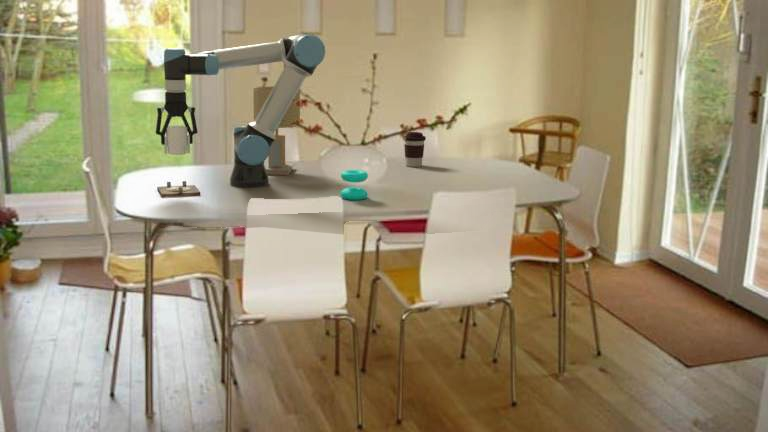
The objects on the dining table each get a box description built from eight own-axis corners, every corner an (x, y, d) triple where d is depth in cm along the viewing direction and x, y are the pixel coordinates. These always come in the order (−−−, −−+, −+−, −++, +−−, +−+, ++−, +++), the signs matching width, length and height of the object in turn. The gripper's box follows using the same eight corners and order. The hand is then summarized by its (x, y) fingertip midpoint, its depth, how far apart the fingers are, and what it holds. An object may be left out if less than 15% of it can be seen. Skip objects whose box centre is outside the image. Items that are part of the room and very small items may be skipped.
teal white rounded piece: (345, 168, 340) (371, 170, 338) (345, 194, 343) (370, 196, 340) (337, 172, 331) (363, 174, 328) (337, 199, 333) (362, 201, 331)
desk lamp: (297, 176, 376) (297, 91, 368) (250, 175, 376) (249, 90, 368) (302, 168, 395) (302, 87, 387) (257, 167, 395) (257, 86, 387)
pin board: (194, 188, 347) (194, 179, 347) (200, 195, 335) (200, 186, 334) (157, 189, 343) (157, 181, 342) (161, 197, 330) (161, 188, 329)
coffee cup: (400, 166, 404) (401, 133, 400) (406, 163, 413) (407, 130, 410) (421, 168, 401) (422, 134, 398) (427, 165, 410) (428, 132, 407)
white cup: (166, 155, 331) (165, 128, 328) (166, 152, 338) (165, 125, 336) (188, 155, 333) (188, 128, 330) (187, 151, 340) (186, 125, 338)
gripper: (202, 90, 337) (203, 150, 342) (145, 90, 330) (147, 152, 335) (205, 91, 330) (206, 153, 335) (147, 92, 323) (150, 155, 328)
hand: (177, 152), depth 335 cm, fingers closed on white cup, 8 cm apart
